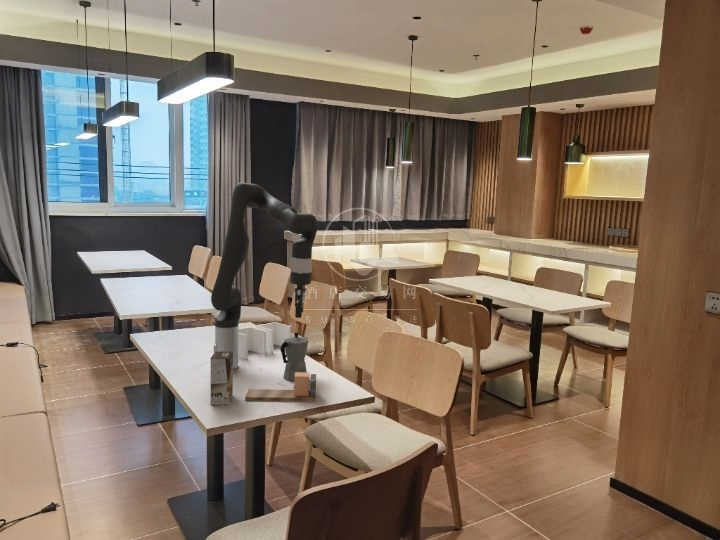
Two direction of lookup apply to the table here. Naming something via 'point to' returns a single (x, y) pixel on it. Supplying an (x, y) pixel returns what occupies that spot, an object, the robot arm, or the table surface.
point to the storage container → (261, 338)
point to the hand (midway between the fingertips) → (299, 314)
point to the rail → (282, 394)
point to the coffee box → (221, 378)
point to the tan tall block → (301, 384)
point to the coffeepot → (294, 356)
